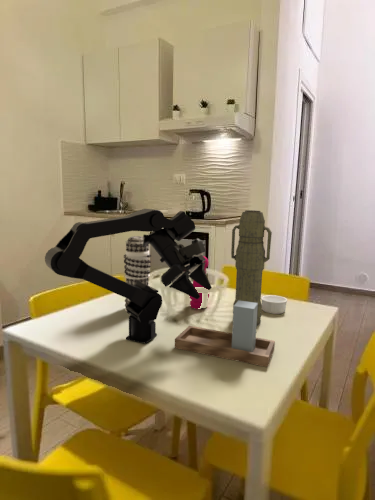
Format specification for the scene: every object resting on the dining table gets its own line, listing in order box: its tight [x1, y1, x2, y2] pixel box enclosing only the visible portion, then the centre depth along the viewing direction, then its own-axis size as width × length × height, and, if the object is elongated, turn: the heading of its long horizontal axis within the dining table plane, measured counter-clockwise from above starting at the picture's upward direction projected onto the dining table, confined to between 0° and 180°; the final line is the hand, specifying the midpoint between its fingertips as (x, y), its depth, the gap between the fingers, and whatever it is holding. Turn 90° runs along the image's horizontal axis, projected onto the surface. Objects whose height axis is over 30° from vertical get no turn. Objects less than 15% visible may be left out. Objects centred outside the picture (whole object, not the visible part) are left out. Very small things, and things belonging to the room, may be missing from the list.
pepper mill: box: [189, 252, 210, 310], centre depth 122 cm, size 7×7×20 cm
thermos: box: [230, 209, 273, 327], centre depth 107 cm, size 9×12×35 cm
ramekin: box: [261, 294, 288, 315], centre depth 121 cm, size 9×9×4 cm
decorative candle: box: [123, 235, 152, 312], centre depth 117 cm, size 9×9×25 cm
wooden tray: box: [174, 325, 276, 368], centre depth 90 cm, size 24×10×2 cm, turn 68°
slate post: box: [231, 300, 258, 352], centre depth 87 cm, size 5×5×12 cm
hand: (204, 293), depth 92 cm, fingers open, 9 cm apart
